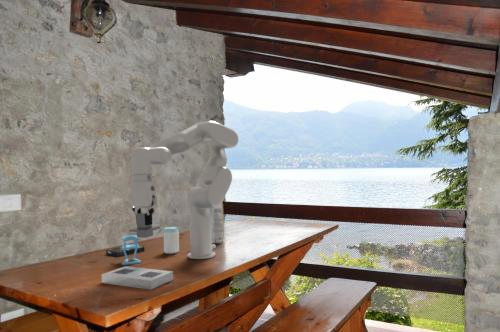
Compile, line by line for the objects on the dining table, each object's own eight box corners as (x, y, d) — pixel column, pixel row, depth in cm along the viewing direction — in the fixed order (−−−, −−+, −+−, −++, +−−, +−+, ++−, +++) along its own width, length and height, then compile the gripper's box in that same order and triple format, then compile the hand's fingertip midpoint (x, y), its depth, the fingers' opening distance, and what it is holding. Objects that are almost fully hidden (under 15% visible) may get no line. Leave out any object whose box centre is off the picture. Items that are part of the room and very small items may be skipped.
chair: (139, 259, 173) (138, 232, 173) (141, 263, 165) (140, 234, 165) (121, 261, 170) (120, 233, 170) (122, 265, 162) (121, 236, 162)
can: (175, 254, 180) (174, 228, 180) (161, 254, 181) (160, 228, 181) (181, 251, 187) (180, 226, 187) (167, 251, 188) (167, 226, 188)
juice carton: (224, 240, 211) (223, 196, 211) (222, 243, 203) (221, 198, 203) (207, 240, 212) (206, 197, 212) (204, 243, 204) (203, 198, 204)
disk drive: (118, 258, 178) (145, 251, 189) (118, 252, 177) (144, 246, 189) (105, 255, 184) (132, 249, 196) (105, 249, 184) (132, 244, 196)
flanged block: (143, 233, 159) (142, 211, 159) (160, 234, 155) (159, 211, 155) (129, 238, 151) (128, 214, 151) (146, 239, 148) (145, 214, 148)
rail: (125, 274, 148) (125, 266, 148) (173, 279, 138) (172, 271, 138) (101, 282, 137) (101, 274, 137) (151, 289, 128) (151, 280, 128)
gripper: (165, 177, 153) (167, 223, 153) (132, 178, 160) (134, 222, 160) (153, 178, 146) (155, 227, 146) (119, 179, 153) (121, 225, 153)
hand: (144, 224), depth 153 cm, fingers closed on flanged block, 4 cm apart
